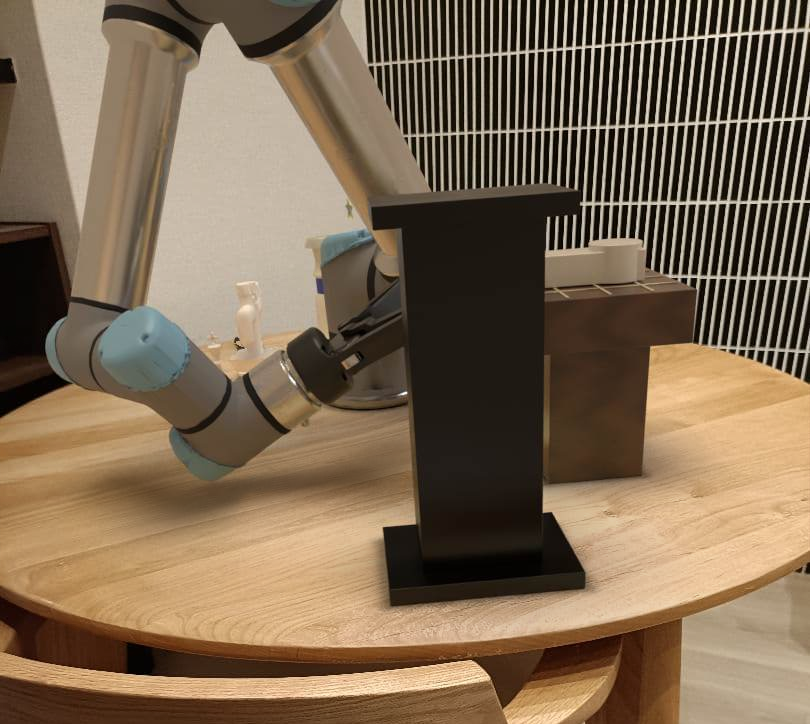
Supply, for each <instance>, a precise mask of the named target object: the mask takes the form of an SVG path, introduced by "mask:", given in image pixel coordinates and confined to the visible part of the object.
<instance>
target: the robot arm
mask: <svg viewBox="0 0 810 724" xmlns="http://www.w3.org/2000/svg"><path fill="white" fill-rule="evenodd" d="M343 1H344V0H104V8H103V14H102V21H101V27H100V31H101V34H102V36H103V37H104V39H105V40H106V42H107V44H108V46H109V48H108V55H107V61H106V70H105V76H104V82H103V88H102V89H103V90H102V95H101V101H100V107H99V112H98V120H97V126H96V133H95V138H94V140H95V141H94V146H93V151H92V157H91V158H92V159H91V165H90V171H89V177H88V183H87V190H86V197H85V203H84V210H83V215H82V223H81V229H80V233H79V234H80V235H79V242H78V247H77V255H76V260H75V266H74V267H75V268H74V273H73V280H72V288H71V292H70V297H69V298H70V299H69V305H68V309H67V315H66V316H65V317H63V318H61V319H59V320H58V321H56V323H55V324H53V326H52V327H51V329H50V330H49V332H48V333H47V335H46V339H45V345H44V346H45V355H46V358H47V361H48V364H49V365H50V367H51V369H52V370H53V371H54V373H55V374H56V375H58V376H59V377H60V378H61V379H63V380H64V381H66V382H69V383H72V384H74V385H75V386H77V387H80V388H82V389H83V390H86V391H90V392H99V393H103V394H107V395H111V396H114V397H116V398H119V399H122V400H127V401H130V402H133V403H137V404H141V405H144V406H146V407H148V408H149V409H151V410H152V411H154V412H155V413H156V414H157V415H158V416H160V417H161V418H162V419H163V420H165V421H166V422H168V423H169V424H170V425H171V427H170V429H169V432H168V441H169V444H170V447H171V449H172V451H173V454H174V455H175V456H176V458H177V459H178V461H179V462H181V464H183V465H184V466H185V467H186V470H187V471H188V472H189V473H190V474H191V475H193V476H194V477H195V478H197V479H198V480H201V481H203V482H208V483H213V482H216V481H219V480H221V479H222V478H223V477H225V476H227V475H229V474H230V473H232V472H234V471H236V470H238V469H241V468H242V467H244V466H246V465H247V463H248V462H250V461H251V460H253V458H256V457H257V456H258V455H259V454H260V453H262V452H263V451H265V450H266V449H267V448H269V447H270V446H271V445H272V444H274V443H275V442H277V441H278V440H279V439H281V438H282V437H283V436H286V435H287V434H289V433H290V432H292V431H293V430H294V429H296V428H297V427H298V426H299V425H300V424H301V426H302V427H303V428H307V427H309V426H310V424H311V420H310V418H312V417H314V416H316V414H318V413H319V412H321V411H322V409H323V405H327V406H328V405H330V406H334V407H337V408H342V409H352V410H353V409H354V410H371V409H373V410H374V409H383V408H384V409H385V408H391V407H395V406H400V405H404V404H408V399H407V384H406V369H405V354H404V339H403V324H402V310H401V295H400V281H399V266H398V250H397V235H396V229H388V230H375V231H373V229H372V226H371V223H370V220H369V217H368V205H367V197H372V196H385V195H398V194H411V193H425V192H432V189H431V188H430V186H429V184H428V181H427V180H426V177H425V176H424V174H423V173H422V170H421V168H420V166H419V164H418V162H417V160H416V158H415V157H414V155H413V153H412V151H411V149H410V147H409V144H408V143H407V140H406V139H405V137H404V135H403V133H402V131H401V129H400V127H399V125H398V123H397V121H396V120H395V117H394V116H393V114H392V112H391V110H390V108H389V106H388V104H387V102H386V99H385V98H384V96H383V94H382V92H381V90H380V89H379V86H378V85H377V83H376V81H375V79H374V77H373V75H372V73H371V70H370V69H369V67H368V65H367V63H366V61H365V58H364V57H363V55H362V53H361V51H360V49H359V47H358V46H357V43H356V42H355V40H354V38H353V36H352V34H351V32H350V30H349V28H348V26H347V24H346V23H345V20H344V19H343V16H342V13H341V9H342V5H343ZM219 24H223V25H224V27H225V28H226V31H228V33H229V35H230V37H231V38H232V40H233V41H234V43H235V44H236V46H237V48H238V49H239V50H240V52H241V54H242V55H243V57H244V58H245V59H246V60H248V61H250V62H253V63H258V64H262V65H266V66H267V67H268V68H269V70H270V71H271V73H272V74H273V76H274V78H275V80H276V81H277V83H278V84H279V86H280V87H281V89H282V91H283V92H284V94H285V96H286V97H287V99H288V101H289V102H290V104H291V106H292V107H293V109H294V111H295V113H296V114H297V116H298V117H299V118H300V121H301V122H302V124H303V125H304V127H305V128H306V130H307V132H308V134H309V135H310V137H311V138H312V140H313V142H314V144H315V145H316V146H317V148H318V150H319V151H320V153H321V155H322V157H323V158H324V160H325V161H326V163H327V165H328V167H329V168H330V170H331V171H332V174H333V175H334V176H335V179H336V180H337V181H338V183H339V185H340V186H341V188H342V189H343V191H344V193H345V195H346V196H347V198H348V199H349V202H350V204H351V205H352V206H353V208H354V209H355V211H356V212H357V214H358V216H359V217H360V219H361V221H362V222H363V224H364V226H365V227H366V228H362V229H358V230H357V229H356V230H351V231H346V232H340V233H333V234H334V235H329V236H327V237H325V238H324V239H323V241H322V243H321V247H320V251H321V265H320V269H321V275H322V283H323V291H324V299H325V307H326V316H327V324H328V331H329V339H327V338H326V337H325V335H324V334H323V333H322V332H321V331H320V330H319V329H318V327H316V326H311V327H309V328H308V329H306V330H304V331H303V332H301V333H300V334H299V335H297V336H296V337H295V338H293V339H292V340H290V341H289V342H287V344H286V347H285V350H283V349H282V350H277V351H275V352H274V353H273V354H271V355H270V356H269V357H267V358H266V359H264V360H263V361H262V362H260V363H259V364H257V365H256V366H255V367H253V368H252V369H250V370H249V372H247V373H246V374H245V375H243V376H239V377H238V378H237V379H235V380H234V381H233V380H231V378H230V377H229V375H227V374H226V373H225V372H224V371H223V370H222V371H223V372H222V371H221V370H220V369H219V368H218V367H217V366H216V365H215V364H214V363H213V362H212V359H211V358H210V357H209V356H208V355H206V353H204V351H202V349H200V348H199V346H198V345H197V344H195V342H193V341H192V339H191V338H190V337H189V336H187V334H186V332H185V331H184V330H182V328H181V327H180V326H179V325H178V324H176V323H175V322H172V321H171V319H169V318H168V317H167V316H165V315H164V314H163V313H161V311H160V310H158V309H156V308H154V307H152V306H148V305H147V303H148V298H149V292H150V286H151V281H152V274H153V268H154V263H155V257H156V250H157V246H158V239H159V234H160V229H161V224H162V223H161V222H162V217H163V211H164V206H165V199H166V193H167V188H168V182H169V177H170V171H171V165H172V160H173V155H174V148H175V143H176V142H175V141H176V137H177V131H178V125H179V120H180V119H179V118H180V113H181V108H182V102H183V96H184V91H185V85H186V79H187V74H188V73H190V72H191V71H193V70H195V69H197V68H198V67H199V65H200V59H201V53H202V48H203V45H204V42H205V39H206V37H207V35H208V34H209V32H210V31H211V29H212V28H213V27H214V26H215V25H219ZM236 341H240V339H239V336H235V337H234V340H233V344H234V343H236ZM235 345H236V348H237V349H239V350H240V349H245V348H243V347H241V346H239V345H237V344H235Z"/></svg>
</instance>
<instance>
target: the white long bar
mask: <svg viewBox="0 0 810 724" xmlns="http://www.w3.org/2000/svg"><path fill="white" fill-rule="evenodd" d="M643 242H644V241H643V240H642V239H639V238H629V237H628V238H627V237H626V238H625V237H623V238H621V237H618V238H603V239H596V240H592V241H589V242H588V245H587V246H588V247H577V248H565V249H564V248H563V249H553V250H545V288H556V287H568V286H581V285H593V284H620V283H629V282H634V281H643V280H644V277H645V267H646V260H647V258H646V257H647V248H646V247H643ZM398 266H399V265H398ZM399 281H400V280H399Z"/></svg>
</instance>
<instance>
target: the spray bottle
mask: <svg viewBox="0 0 810 724" xmlns="http://www.w3.org/2000/svg"><path fill="white" fill-rule="evenodd" d="M346 198H347V199H346V202H347V203H346V204H345V209H346V210H347V219H350V218H351V219H354V214H353V208H354V206H353V204H351V201H350V199H349V198H348V197H346ZM334 234H335V233H322V234H315V235H310V236H307V237H306V240H305V243H304V248H305V249H309V250H312V254H313V257H314V262H315V264H314V269H313V271H312V275H313V277H315V284H316V285H315V287H316V295H315V310H316V320H317V321H316V322H317V328H318V329H319V330H320V331H321V332H322V333H323V334H324V335H325V337H326V338H327V339H329V331H328V324H327V316H326V307H325V299H324V291H323V283H322V275H321V269H320V265H321V251H320V247H321V243H322V241H323V239H324V238H325V237H327V236H329V235H334Z"/></svg>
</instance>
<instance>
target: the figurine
mask: <svg viewBox="0 0 810 724" xmlns="http://www.w3.org/2000/svg"><path fill="white" fill-rule="evenodd" d="M235 288H236V292H237V296H238V300H239V301H238V302H239V306H240V307H239V309H238V310H237V312H236V317H235V318H236V325H237V326H236V327H237V332H238V333H237V334H238V338H239V339H240V343H241V344H242V345H245V347H246V348H247V349H239V350H237V352H235V353H234V354H233V355H232V356H231V357H230V358H229V359H228V362H229V363H230V364H231V366H232V367H233V368H234V370H235V372H237V373H238V372H249V370H250V369H252V368H253V367H255V366H256V365H257V364H259V363H260V362H262V361H263V360H264V359H266V358H267V357H269V356H270V355H271V354H273V353H274V352H275V351H277V350H283V346H276V347H264V342H263V335H262V328H261V322H260V320H261V319H260V316H261V315H262V313H263V309H264V308H263V298H262V292H261V286H260V283H259V281H255V280H251V281H242V282H237V283H235ZM238 375H239V377H241V376H243V375H245V374H238Z"/></svg>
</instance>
